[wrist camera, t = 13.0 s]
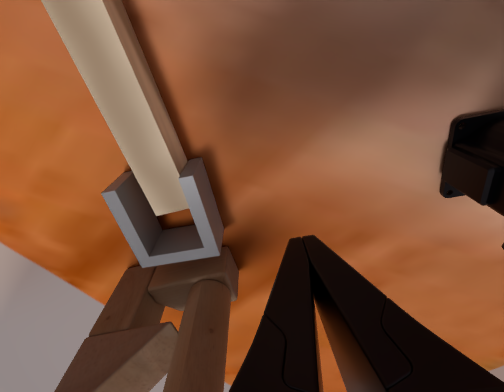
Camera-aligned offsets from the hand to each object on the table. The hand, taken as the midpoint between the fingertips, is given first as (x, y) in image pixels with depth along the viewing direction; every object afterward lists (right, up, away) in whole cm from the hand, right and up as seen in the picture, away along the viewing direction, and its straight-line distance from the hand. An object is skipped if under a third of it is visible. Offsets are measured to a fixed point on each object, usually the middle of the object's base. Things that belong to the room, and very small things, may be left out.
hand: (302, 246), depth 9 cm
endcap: (-8, +2, +13) cm, 15 cm away
